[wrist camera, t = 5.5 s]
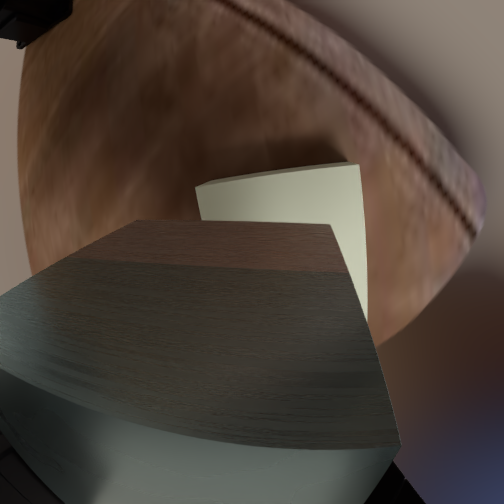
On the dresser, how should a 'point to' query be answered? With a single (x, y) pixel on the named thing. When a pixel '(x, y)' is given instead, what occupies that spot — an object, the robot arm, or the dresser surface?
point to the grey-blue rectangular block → (197, 369)
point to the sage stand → (298, 206)
